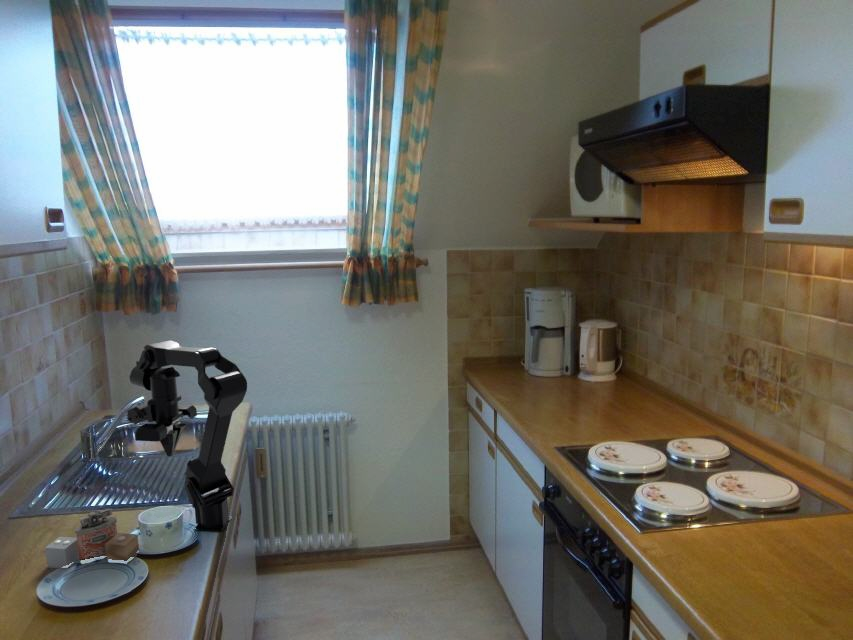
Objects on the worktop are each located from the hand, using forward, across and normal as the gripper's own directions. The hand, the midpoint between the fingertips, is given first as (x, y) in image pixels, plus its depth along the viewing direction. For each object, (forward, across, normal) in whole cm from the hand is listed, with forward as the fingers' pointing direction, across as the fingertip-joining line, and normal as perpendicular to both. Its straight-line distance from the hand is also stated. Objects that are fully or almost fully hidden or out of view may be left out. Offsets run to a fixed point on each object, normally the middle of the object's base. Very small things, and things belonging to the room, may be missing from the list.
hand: (170, 455), depth 164 cm
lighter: (+13, +24, -4) cm, 28 cm away
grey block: (+13, +27, -10) cm, 32 cm away
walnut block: (+13, +24, +1) cm, 27 cm away
